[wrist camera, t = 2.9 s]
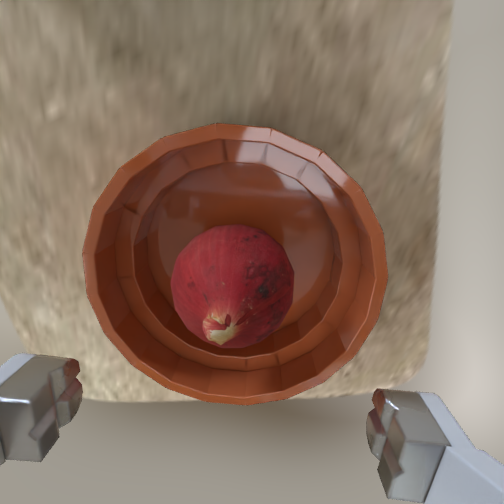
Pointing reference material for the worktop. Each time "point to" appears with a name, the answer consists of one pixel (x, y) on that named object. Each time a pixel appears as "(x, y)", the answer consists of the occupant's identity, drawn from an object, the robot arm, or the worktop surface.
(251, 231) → the pomegranate
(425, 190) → the worktop surface
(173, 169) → the bowl
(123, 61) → the worktop surface
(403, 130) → the worktop surface
